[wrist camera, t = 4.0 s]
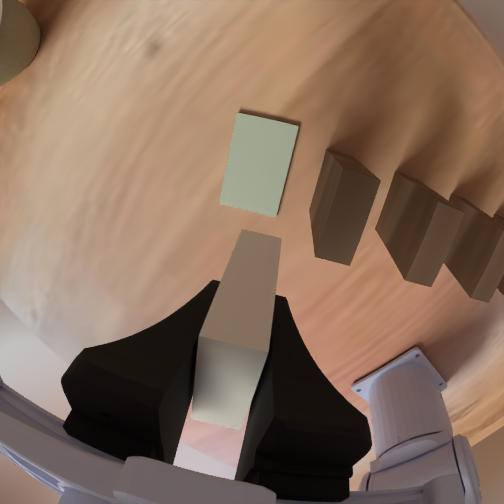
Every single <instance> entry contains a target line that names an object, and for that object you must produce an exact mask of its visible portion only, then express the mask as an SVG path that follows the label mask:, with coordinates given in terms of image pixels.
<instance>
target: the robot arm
mask: <svg viewBox="0 0 504 504" xmlns="http://www.w3.org/2000/svg"><path fill="white" fill-rule="evenodd" d="M219 284H220V281H216V280H212V281H210V283H209V284H208V285H207V286H206V287H205V288H204V289H203V290H201V291H200V292H199V293H198V294H197V295H196V296H195V297H194V298H192V299H191V300H190V301H189V302H188V303H186V304H185V305H184V306H182V307H181V308H180V309H178V310H177V311H175V312H174V313H173V314H171V315H170V316H168V317H167V318H165V319H163V320H162V321H160V322H158V323H157V324H155V325H153V326H151V327H149V328H147V329H145V330H143V331H141V332H139V333H136V334H134V335H132V336H129V337H126V338H123V339H120V340H117V341H114V342H111V343H107V344H103V345H98V346H94V347H89V348H84V349H83V350H82V352H81V353H80V354H79V355H78V356H77V357H76V358H75V359H74V361H73V362H72V363H71V365H70V366H69V368H68V369H67V371H66V372H65V373H64V375H63V376H62V379H61V384H62V388H63V391H64V393H65V395H66V397H67V400H68V402H69V404H70V406H71V408H72V410H71V412H70V414H69V415H68V417H67V419H66V420H65V421H64V420H62V419H60V418H58V417H57V416H55V415H53V414H51V413H49V412H48V411H46V410H44V409H43V408H41V407H39V406H38V405H36V404H35V403H33V402H31V401H30V400H28V399H27V398H25V397H24V396H22V395H20V394H19V393H17V392H16V391H14V390H13V389H12V388H10V387H9V386H7V385H6V384H5V383H3V380H2V378H1V376H0V452H1V453H2V454H3V455H5V456H6V457H7V458H8V459H10V460H11V461H12V462H14V463H15V464H16V465H17V466H19V467H20V468H21V469H23V470H24V471H26V472H27V473H28V474H30V475H31V476H33V477H34V478H36V479H37V480H39V481H40V482H42V483H43V484H45V485H46V486H48V487H49V488H51V489H53V490H54V491H56V492H58V493H59V494H61V495H62V496H61V498H60V501H59V503H58V504H481V502H482V497H481V492H480V481H479V476H478V471H477V467H476V463H475V460H474V456H473V453H472V450H471V447H470V444H469V441H468V439H467V437H465V436H461V435H460V434H458V435H456V436H454V437H453V429H452V425H451V422H450V419H449V415H448V412H447V409H446V406H445V403H444V400H443V397H442V394H441V391H442V390H444V389H445V388H446V387H447V383H446V382H445V381H444V379H443V378H442V377H441V375H440V374H439V373H438V371H437V370H436V369H435V368H434V366H433V365H432V364H431V362H430V361H429V360H428V359H427V357H426V356H425V355H424V354H423V352H422V351H421V350H420V349H419V348H418V347H414V348H412V349H411V350H409V351H408V352H406V353H405V354H403V355H401V356H400V357H398V358H397V359H395V360H393V361H392V362H390V363H389V364H387V365H385V366H384V367H382V368H380V369H379V370H377V371H375V372H373V373H372V374H370V375H368V376H366V377H365V378H363V379H361V380H359V381H357V382H356V383H354V384H352V386H351V389H352V390H353V391H354V392H355V393H356V394H358V395H359V396H360V397H362V398H363V399H364V400H366V401H367V402H368V403H369V406H370V412H371V419H372V427H373V435H374V443H375V452H376V460H374V461H372V462H370V468H371V471H370V472H368V473H366V474H365V475H364V476H363V478H362V480H361V482H360V484H359V487H358V491H349V478H351V477H352V475H353V465H355V464H356V463H357V462H358V461H359V460H361V459H362V458H363V457H364V456H365V455H366V454H367V453H368V452H369V451H370V449H371V446H372V440H371V432H370V428H369V424H368V420H367V417H366V416H365V415H363V414H362V413H361V412H360V411H359V410H357V409H356V408H355V407H354V406H353V405H352V404H350V403H349V402H348V401H347V400H346V399H345V398H344V397H343V396H342V395H341V394H340V393H339V392H338V391H337V390H336V388H335V387H334V386H333V385H332V384H331V383H330V381H329V380H328V379H327V378H326V377H325V375H324V374H323V373H322V372H321V370H320V369H319V367H318V366H317V364H316V363H315V361H314V360H313V358H312V356H311V355H310V353H309V351H308V349H307V348H306V346H305V344H304V342H303V340H302V338H301V336H300V333H299V331H298V329H297V327H296V324H295V322H294V319H293V317H292V314H291V311H290V308H289V305H288V301H287V299H286V297H283V296H278V295H275V303H274V311H273V320H272V328H271V336H270V344H269V352H268V355H267V358H266V361H265V364H264V367H263V370H262V373H261V375H260V378H259V381H258V384H257V387H256V390H255V393H254V395H253V398H252V401H251V406H250V411H249V416H248V421H247V426H246V431H245V436H244V440H243V445H242V449H241V454H240V458H239V463H238V467H237V472H236V475H235V479H234V480H230V479H225V478H220V477H216V476H212V475H207V474H203V473H199V472H195V471H192V470H188V469H184V468H181V467H177V466H174V465H173V462H174V458H175V455H176V451H177V447H178V444H179V440H180V437H181V433H182V430H183V426H184V423H185V419H186V416H187V413H188V409H189V406H190V403H191V399H192V396H193V391H194V379H195V368H196V358H197V348H198V338H199V334H200V331H201V329H202V326H203V324H204V321H205V319H206V316H207V314H208V311H209V309H210V306H211V304H212V301H213V299H214V297H215V294H216V292H217V289H218V287H219ZM416 354H417V355H416Z"/></svg>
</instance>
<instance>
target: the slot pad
mask: <svg viewBox="0 0 504 504" xmlns="http://www.w3.org/2000/svg"><path fill="white" fill-rule="evenodd" d="M298 128H299V126H297V125H293V124H288V123H284V122H280V121H276V120H271V119H267V118H262V117H258V116H253V115H248V114H243V113H237V115H236V120H235V125H234V130H233V135H232V139H231V144H230V149H229V154H228V160H227V165H226V170H225V175H224V181H223V186H222V191H221V197H220V202H219V204H222V205H226V206H230V207H234V208H239V209H243V210H247V211H251V212H255V213H259V214H263V215H267V216H271V217H275V218H276V215H277V211H278V207H279V203H280V199H281V195H282V192H283V188H284V184H285V180H286V176H287V172H288V168H289V164H290V160H291V156H292V152H293V148H294V144H295V140H296V136H297V132H298Z"/></svg>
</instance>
